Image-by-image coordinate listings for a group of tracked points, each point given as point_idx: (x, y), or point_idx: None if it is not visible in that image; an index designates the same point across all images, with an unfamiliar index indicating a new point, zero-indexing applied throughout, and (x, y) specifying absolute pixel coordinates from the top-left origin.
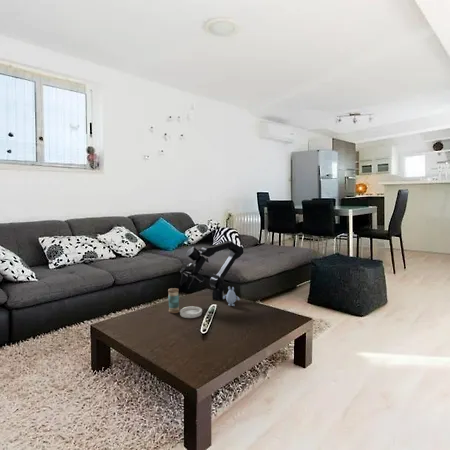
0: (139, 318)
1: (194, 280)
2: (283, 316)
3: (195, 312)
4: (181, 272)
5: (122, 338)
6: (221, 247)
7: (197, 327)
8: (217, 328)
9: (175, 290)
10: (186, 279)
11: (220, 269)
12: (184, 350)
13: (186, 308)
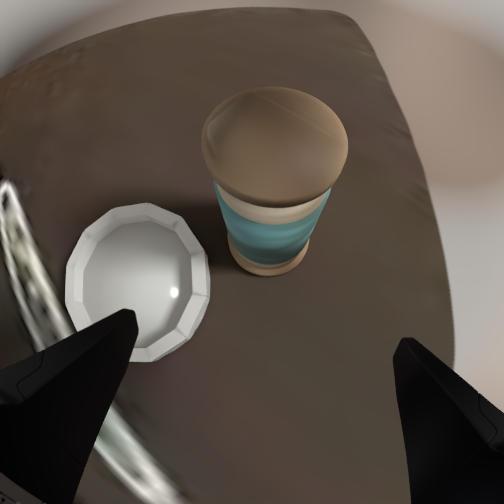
0: (311, 79)
1: (12, 430)
2: None
3: (113, 304)
4: None
5: (196, 16)
6: None
7: (28, 195)
8: None
9: (221, 132)
10: (417, 500)
11: None
12: (18, 101)
13: (193, 295)
